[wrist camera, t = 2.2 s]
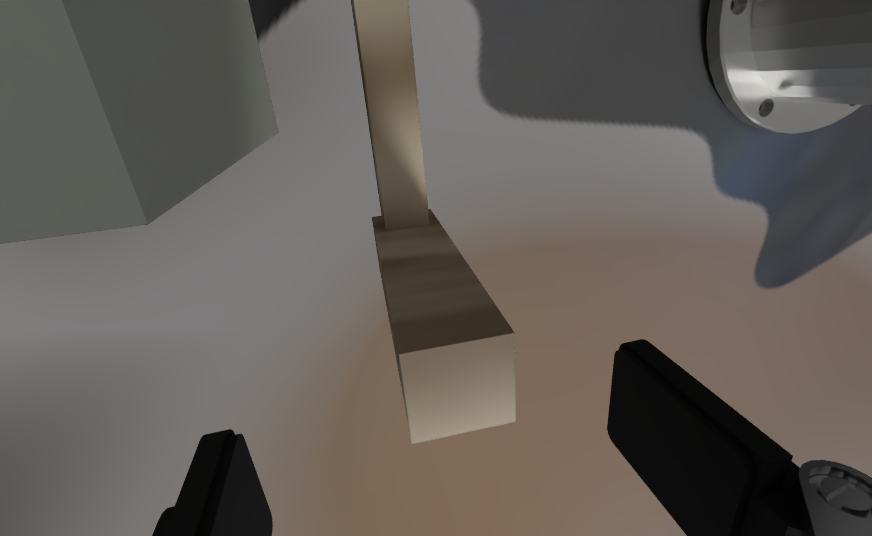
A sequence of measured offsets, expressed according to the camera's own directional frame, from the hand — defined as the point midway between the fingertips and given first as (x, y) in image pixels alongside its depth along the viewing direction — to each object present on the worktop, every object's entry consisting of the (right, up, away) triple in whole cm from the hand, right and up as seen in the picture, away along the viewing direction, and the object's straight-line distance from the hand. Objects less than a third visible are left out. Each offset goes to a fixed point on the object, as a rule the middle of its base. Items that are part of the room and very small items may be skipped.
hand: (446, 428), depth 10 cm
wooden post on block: (-2, +11, +9) cm, 15 cm away
